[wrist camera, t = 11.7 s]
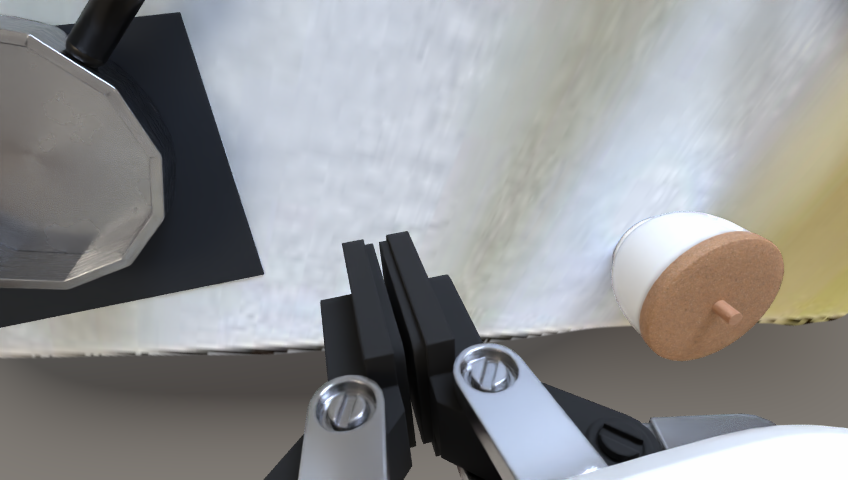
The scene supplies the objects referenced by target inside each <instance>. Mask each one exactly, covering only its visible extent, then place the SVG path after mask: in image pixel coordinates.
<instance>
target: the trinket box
mask: <svg viewBox="0 0 848 480" xmlns="http://www.w3.org/2000/svg"><path fill="white" fill-rule="evenodd" d="M783 274H784V263H783V258H782V255H781V253H780V251H779V249H778V247H776V246H775V245H774V244H773V243H772V242H771V241H769V240H767V239H765V238H763V237H761V236H760V235H758V234H755V233H751V232H749V231H748V230H746V229H744V228H742V227H740V226H738V225H736V224H734V223H732V222H730V221H728V220H725V219H722V218H720V217H717V216H713V215H709V214H706V213H702V212H693V211H679V212H671V213H666V214H663V215H659V216H656V217H651V218H647V219H645V220H642V221H641V222H639V223H637V224H636V225H634V226H633V227H632V228H630V229H629V230H628V231H627V232H626V233H625V234H624V235H623V237H622V238H621V240H620V241H619V243H618V244H617V246H616V249H615V252H614V256H613V265H612V272H611V280H612V289H613V292H614V295H615V298H616V301H617V303H618V305H619V307H620V309H621V310H622V312H623V314H624V315H625V317H626V318H627V320H628V321H629V322H630V324H631V325H632V326H633V327H634V328H635V330H636V331H637V332H638V333H639V334H640V335H641V336H642V337H643V339H644V341H645V342H646V344H647V345H648V346H649V347H650V348H651V349H652V350H653V351H654V352H655V353H656V354H657V355H659V356H661V357H663V358H667V359H670V360H677V361H686V360H693V359H698V358H702V357H705V356H707V355H710V354H712V353H715V352H717V351H719V350H721V349H722V348H724V347H726V346H728V345H730V344H731V343H733V342H734V341H736V340H737V339H739V338H740V337H741V336H742V335H743V334H745V333H746V332H747V331H748V330H749V329H751V328H752V327H753V326H754V325H755V324H756V323H757V322H758V321H759V319H760V318H761V317H762V316H763V315H764V314H765V312H766V311H767V310H768V308H769V307H770V305H771V304H772V302H773V301H774V299H775V297H776V295H777V293H778V291H779V289H780V286H781V283H782V279H783Z"/></svg>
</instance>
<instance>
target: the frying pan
mask: <svg viewBox="0 0 848 480" xmlns="http://www.w3.org/2000/svg"><path fill="white" fill-rule="evenodd" d="M144 1H145V0H89V1H88V3H87V5H86V6H85V8H84V10H83V11H82V13H81V15H80V16H79V18H78V20H77V22H76V23H75V25H74V27H73V28H72V30H71V32H70V33H67V32H64V31H62V30H61V29H59V28H58V27H55V26H52V25H46V24H43V23H40V22H36V21H32V20H28V19H24V18H20V17H15V16H6V15H0V288H25V289H58V290H69V289H72V288H75V287H77V286H80V285H82V284H85V283H87V282H90V281H92V280H95V279H97V278H100V277H103V276H105V275H108V274H110V273H113V272H115V271H118V270H120V269H123V268H125V267H128V266H130V265H132V263H133V262H134V260H135V259H136V258H137V256H138V255H139V254H140V252H141V251H142V249H143V248H144V247H145V245H146V244H147V243H148V241H149V240H150V238H151V237H152V236H153V234H154V233H155V232H156V230H157V229H158V227H159V226H160V225H161V223H162V222H163V221H164V219H165V217H166V215H167V213H168V211H169V209H170V207H171V205H172V203H173V201H174V199H175V181H176V157H175V150H174V145H173V138H172V136H171V135H170V132H169V130H168V127H167V125H166V123H165V120H164V119H163V117H162V115H161V113H160V111H159V110H158V108H157V106H156V105H155V103H154V102H153V101H152V99H151V98H150V96H149V95H148V94H147V92H146V91H145V90H144V89H143V88H142V87H141V86H140V84H139V83H138V82H137V81H136V80H135V79H134V77H132V76H131V75H130V74H129V73H128V72H127V71H126V70H124V69H123V68H122V67H121V66H120V65H119V64H118V63H117V62H115V61H114V60H112V59H111V58H110V56H111V54H112V52H113V51H114V49H115V48H116V46H117V44H118V43H119V41H120V40H121V38H122V36H123V35H124V33H125V32H126V30H127V28H128V27H129V25H130V23H131V22H132V20H133V19H134V17H135V15H136V14H137V12H138V11H139V9H140V7H141V6H142V4H143V3H144Z"/></svg>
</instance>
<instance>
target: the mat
mask: <svg viewBox="0 0 848 480" xmlns="http://www.w3.org/2000/svg"><path fill="white" fill-rule="evenodd" d="M74 25H75V24H67V25H58V26H55V27H58V28H59V29H61V30H62V31H64V32H67V33H70V32H71V30H72V28H73V27H74ZM110 58H111V59H112V60H114V61H115V62H117V63H118V64H119V65H120V66H121V67H122V68H123V69H124V70H126V71H127V72H128V73H129V74H130V75H131V76H132V77H134V79H135V80H136V81H137V82H138V83H139V84H140V86H141V87H142V88H143V89H144V90H145V91H146V92H147V94H148V95H149V96H150V98H151V99H152V101H153V102H154V103H155V105H156V106H157V108H158V110H159V111H160V113H161V115H162V117H163V119H164V120H165V123H166V125H167V127H168V130H169V132H170V135H171V136H172V138H173V145H174V150H175V157H176V181H175V199H174V201H173V203H172V205H171V207H170V209H169V211H168V213H167V215H166V217H165V219H164V221H163V222H162V223H161V225H160V226H159V227H158V229H157V230H156V232H155V233H154V234H153V236H152V237H151V238H150V240H149V241H148V243H147V244H146V245H145V247H144V248H143V249H142V251H141V252H140V254H139V255H138V256H137V258H136V259H135V260H134V262H133V263H132V265H130V266H128V267H125V268H123V269H120V270H118V271H115V272H113V273H110V274H108V275H105V276H103V277H100V278H97V279H95V280H92V281H90V282H87V283H85V284H82V285H80V286H77V287H75V288H72V289H69V290H58V289H25V288H0V328H1V327H6V326H11V325H16V324H21V323H26V322H31V321H36V320H41V319H46V318H50V317H55V316H60V315H65V314H70V313H75V312H80V311H85V310H90V309H95V308H100V307H105V306H110V305H115V304H120V303H125V302H130V301H135V300H140V299H145V298H150V297H154V296H159V295H164V294H169V293H174V292H179V291H184V290H189V289H194V288H199V287H204V286H209V285H214V284H219V283H224V282H229V281H234V280H239V279H244V278H249V277H254V276H259V275H263V274H264V272H263V269H262V266H261V263H260V259H259V256H258V253H257V250H256V247H255V244H254V241H253V238H252V235H251V231H250V228H249V225H248V222H247V219H246V216H245V213H244V210H243V207H242V204H241V200H240V197H239V194H238V191H237V188H236V185H235V182H234V179H233V176H232V172H231V169H230V166H229V163H228V160H227V157H226V154H225V151H224V148H223V144H222V141H221V138H220V135H219V132H218V129H217V126H216V123H215V120H214V116H213V113H212V110H211V107H210V104H209V101H208V98H207V95H206V92H205V89H204V85H203V82H202V79H201V76H200V73H199V70H198V67H197V64H196V61H195V57H194V54H193V51H192V48H191V45H190V42H189V39H188V36H187V33H186V29H185V26H184V23H183V20H182V17H181V14H180V12H179V13H170V14H160V15H151V16H142V17H134V19H133V20H132V22H131V23H130V25H129V27H128V28H127V30H126V32H125V33H124V35H123V36H122V38H121V40H120V41H119V43H118V44H117V46H116V48H115V49H114V51H113V52H112V54H111V56H110Z"/></svg>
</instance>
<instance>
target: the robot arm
mask: <svg viewBox="0 0 848 480" xmlns="http://www.w3.org/2000/svg"><path fill="white" fill-rule="evenodd" d="M342 247H343V252H344V257H345V263H346V268H347V273H348V278H349V284H350V289H351V294H350V295H345V296H340V297H335V298H330V299H325V300H321V302H320V304H321V315H322V325H323V335H324V346H325V355H326V366H327V376H328V382H327V383H325V384H324V385H323V386H322V387H321V388H319V389H318V390H317V391H316V393H315V394H314V395H313V397H312V398H311V400H310V403H309V406H308V409H307V417H306V424H305V431H304V434H303V436H302V437H301V438H300V439H299V440H298V441H297V443H296V444H295V445H294V446H293V447H292V448H291V449H290V450H289V451H288V453H287V454H286V455H285V456H284V457H283V458H282V459H281V461H280V462H279V463H278V464H277V465H276V466H275V468H274V469H273V470H272V471H271V472H270V473H269V474H268V475H267V477H266V478H265V479H264V480H404V478H405V476H406V475H407V473H408V472H409V470H410V469H411V467H412V460H411V453H410V448H411V447H414V446H416V441H415V433H414V425H413V416H412V408H411V403H412V406H413V410H414V413H415V417H416V420H417V424H418V428H419V431H420V435H421V439H422V442H423V444H426V443H429V442H432V445H433V448H434V451H435V455H436V456H440V455H441V457H442V458H443V459H445V460H447V461H449V462H451V463H453V464H455V465H457V468H458V472H459V474H460V477H461V479H462V480H848V429H847V428H840V427H829V426H819V425H776V424H774V423H773V422H771V421H770V420H767V419H764V418H762V417H759V416H756V415H749V414H721V415H698V416H677V417H653V418H650V421H649V423H641V422H640V421H638V420H636V419H634V418H632V417H630V416H628V415H626V414H623V413H620V412H618V411H615V410H613V409H610V408H607V407H605V406H602V405H599V404H597V403H594V402H591V401H589V400H586V399H584V398H581V397H578V396H576V395H573V394H571V393H568V392H565V391H563V390H560V389H558V388H555V387H552V386H550V385H547V384H545V383H542V382H540V381H539V379H538V378H537V377H536V376H535V375H534V373H533V372H532V371H531V370H530V368H529V367H528V366H527V365H526V363H525V362H524V361H523V360H522V358H521V357H520V356H518V355H517V354H516V353H515V352H514V351H513V350H511V349H509V348H507V347H505V346H503V345H499V344H494V343H483V342H482V340H481V338H480V336H479V334H478V332H477V330H476V328H475V326H474V324H473V322H472V320H471V318H470V316H469V314H468V312H467V310H466V308H465V306H464V304H463V302H462V300H461V298H460V296H459V294H458V292H457V290H456V288H455V286H454V284H453V282H452V280H451V279H450V277H449V276H448V275H442V276H437V277H432V278H428V276H427V274H426V272H425V269H424V267H423V265H422V263H421V260H420V258H419V256H418V253H417V251H416V249H415V247H414V244H413V242H412V240H411V237H410V235H409V233H408V231H405V232H400V233H395V234H389V235H386V241H383V242H379V247H380V254H381V261H382V269H383V276H384V280H383V276H382V273H381V270H380V266H379V263H378V259H377V256H376V253H375V249H374V246H373V243H372V244H367V245H365V244H364V240H357V241H352V242H347V243H342Z"/></svg>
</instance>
